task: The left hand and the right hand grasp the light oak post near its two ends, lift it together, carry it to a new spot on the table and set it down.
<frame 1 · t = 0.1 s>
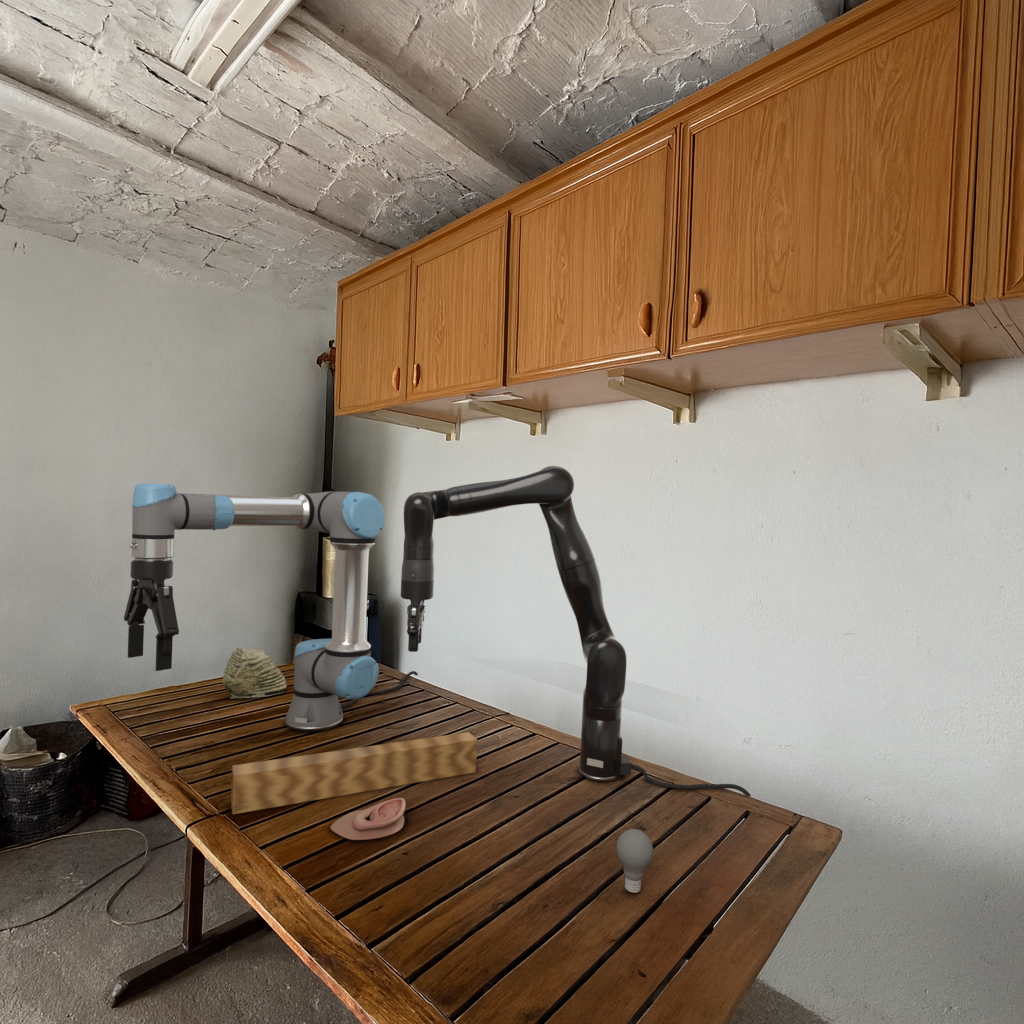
left hand: (148, 663, 129), 28 cm above the table, tool pointing down, fingers open, 13 cm apart
right hand: (414, 647, 148), 29 cm above the table, tool pointing down, fingers open, 8 cm apart
fossil: (254, 694, 198), on the table
light bulb: (632, 891, 106), on the table
anatomical model: (368, 826, 123), on the table
post: (362, 786, 139), on the table
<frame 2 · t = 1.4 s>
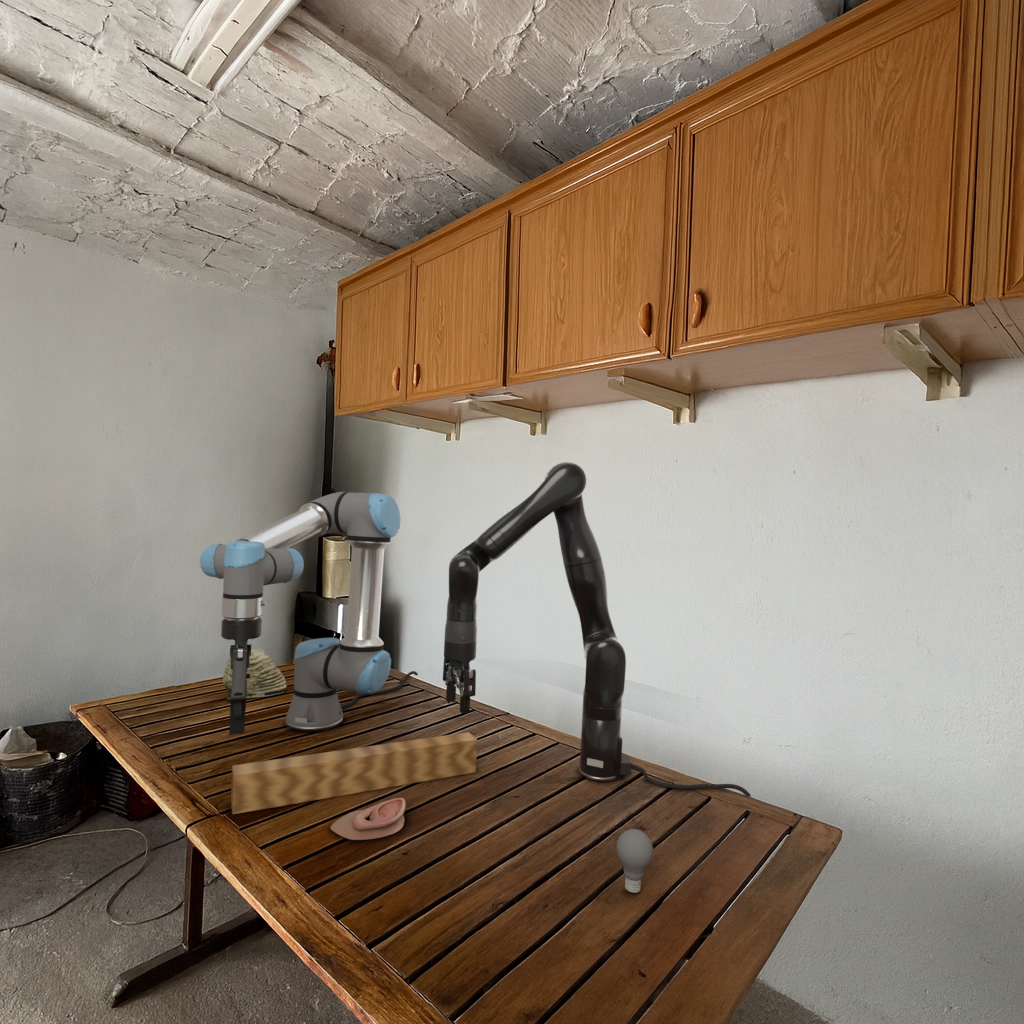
left hand: (237, 721, 129), 17 cm above the table, tool pointing down, fingers open, 13 cm apart
right hand: (457, 706, 149), 15 cm above the table, tool pointing down, fingers open, 8 cm apart
nothing on the table moved.
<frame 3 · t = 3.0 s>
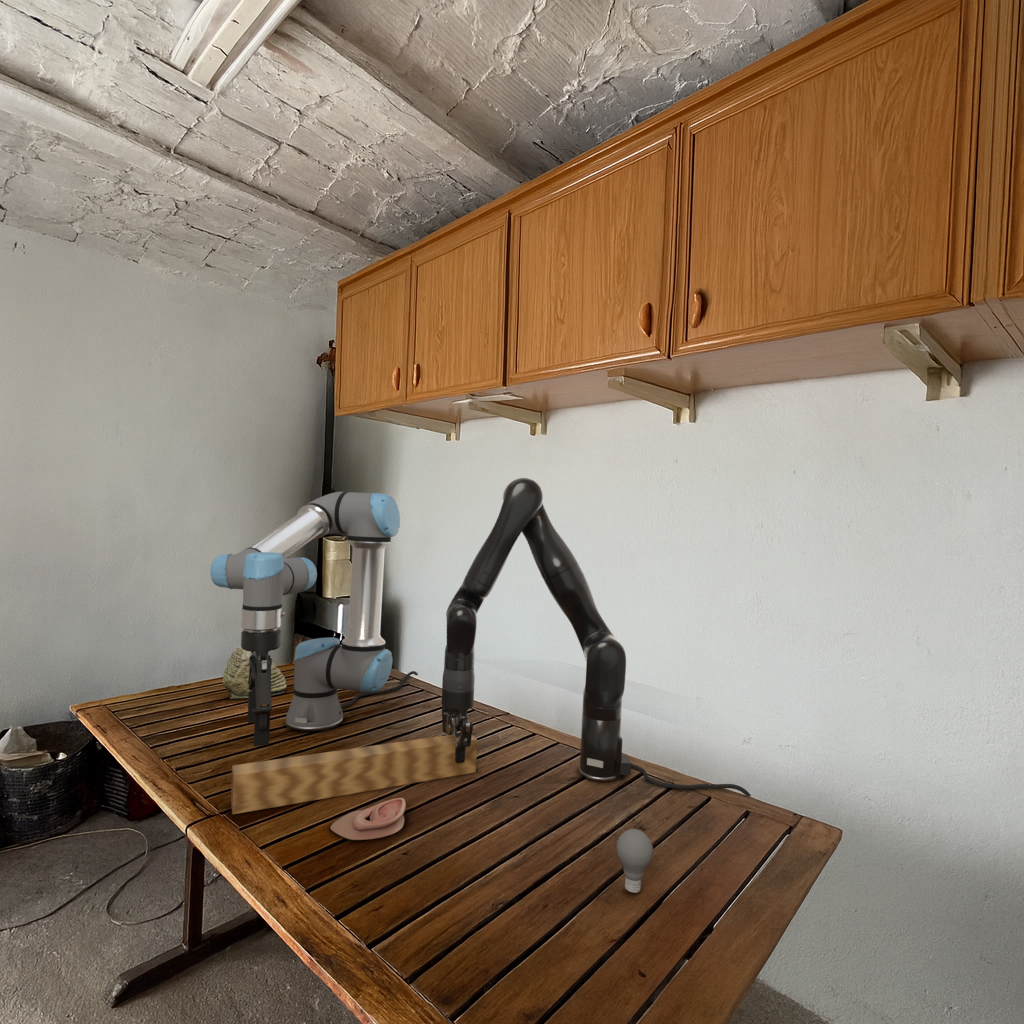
left hand: (257, 732, 129), 15 cm above the table, tool pointing down, fingers open, 13 cm apart
right hand: (455, 757, 149), 3 cm above the table, tool pointing down, fingers closed on post, 5 cm apart
post: (362, 786, 139), on the table, touching right hand
everything else where it was.
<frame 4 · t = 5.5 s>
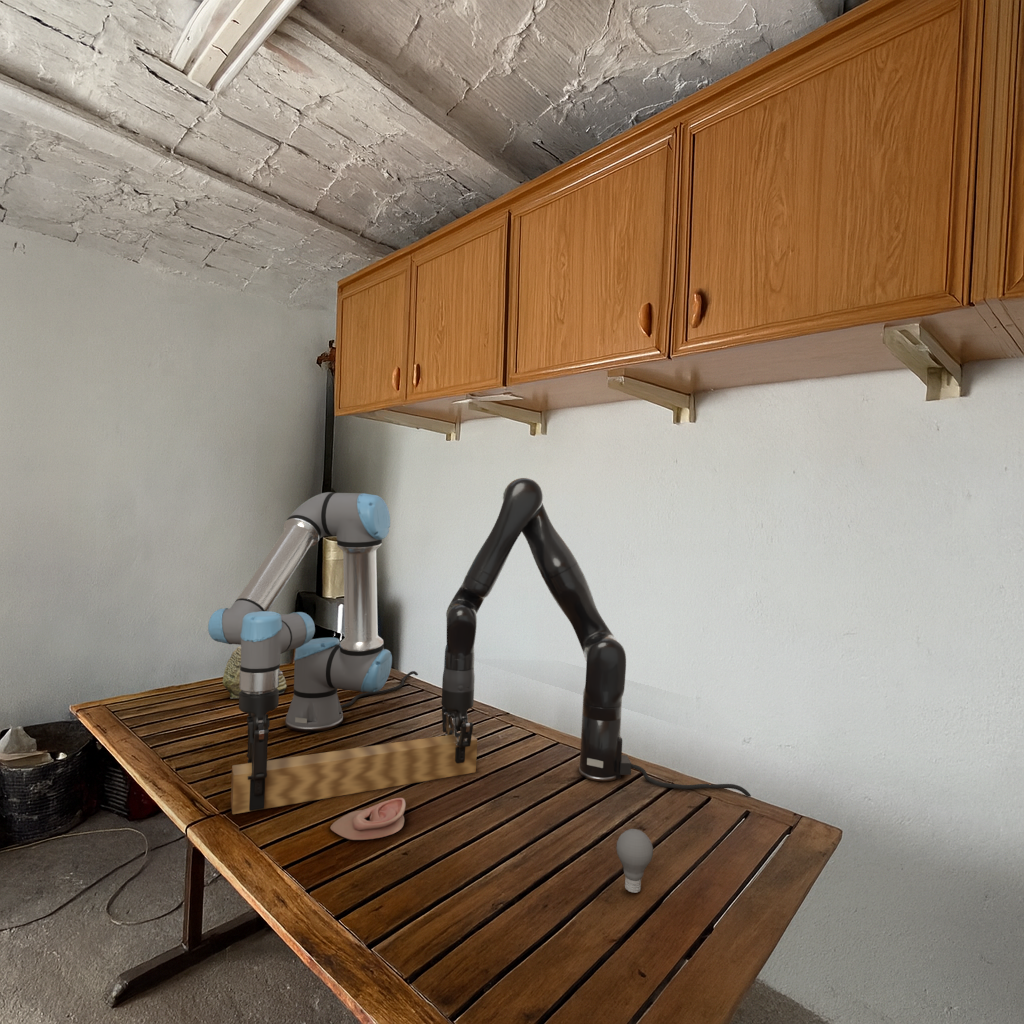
left hand: (255, 802, 129), 1 cm above the table, tool pointing down, fingers closed on post, 5 cm apart
right hand: (455, 757, 149), 3 cm above the table, tool pointing down, fingers closed on post, 5 cm apart
post: (362, 786, 139), on the table, touching left hand, right hand
everything else where it was.
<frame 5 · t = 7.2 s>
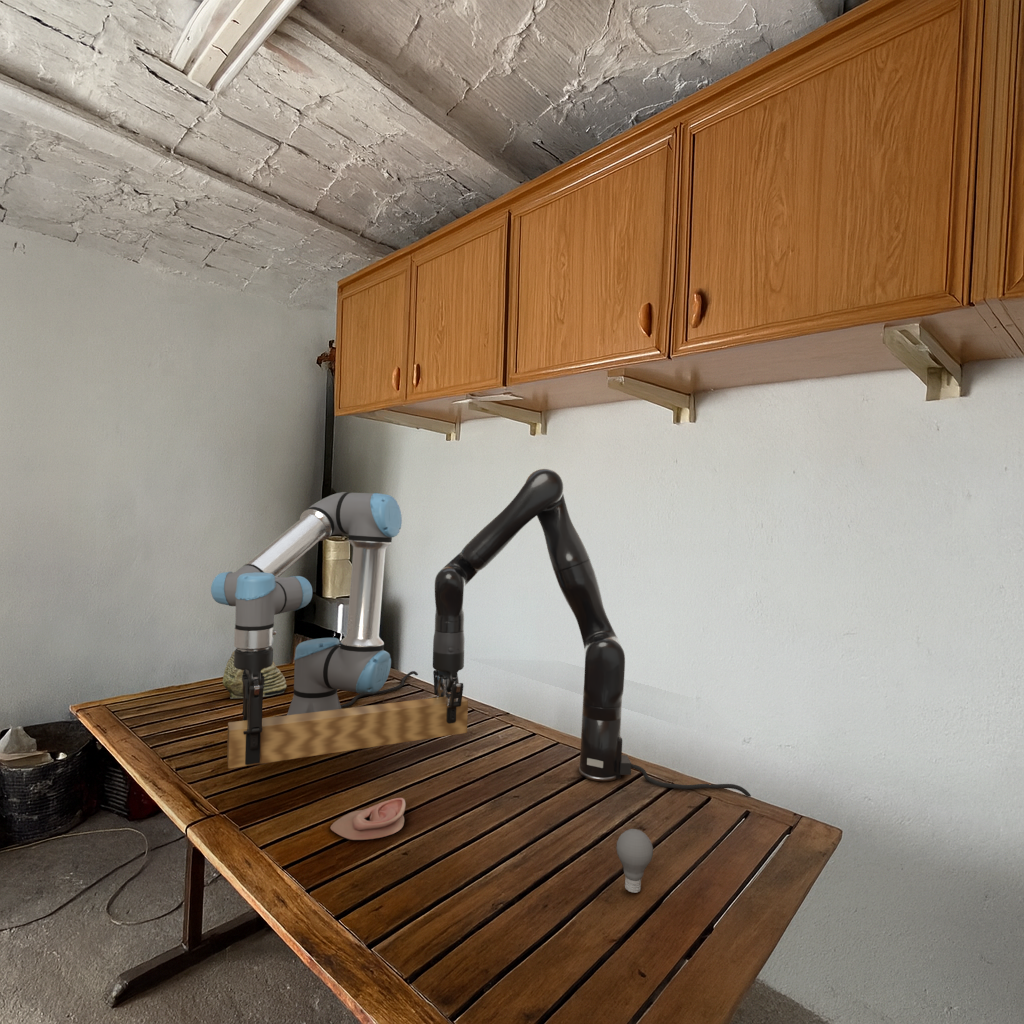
left hand: (250, 757, 133), 8 cm above the table, tool pointing down, fingers closed on post, 5 cm apart
right hand: (446, 718, 153), 11 cm above the table, tool pointing down, fingers closed on post, 5 cm apart
post: (355, 745, 143), point 8 cm above the table, touching left hand, right hand
everything else where it was.
when the left hand's fingers open (2 cm above the table, at t = 9.4 s): post drops 2 cm, on the table.
when the right hand's fingers open (5 cm above the table, at t = 9.6 s): post stays where it is, on the table.
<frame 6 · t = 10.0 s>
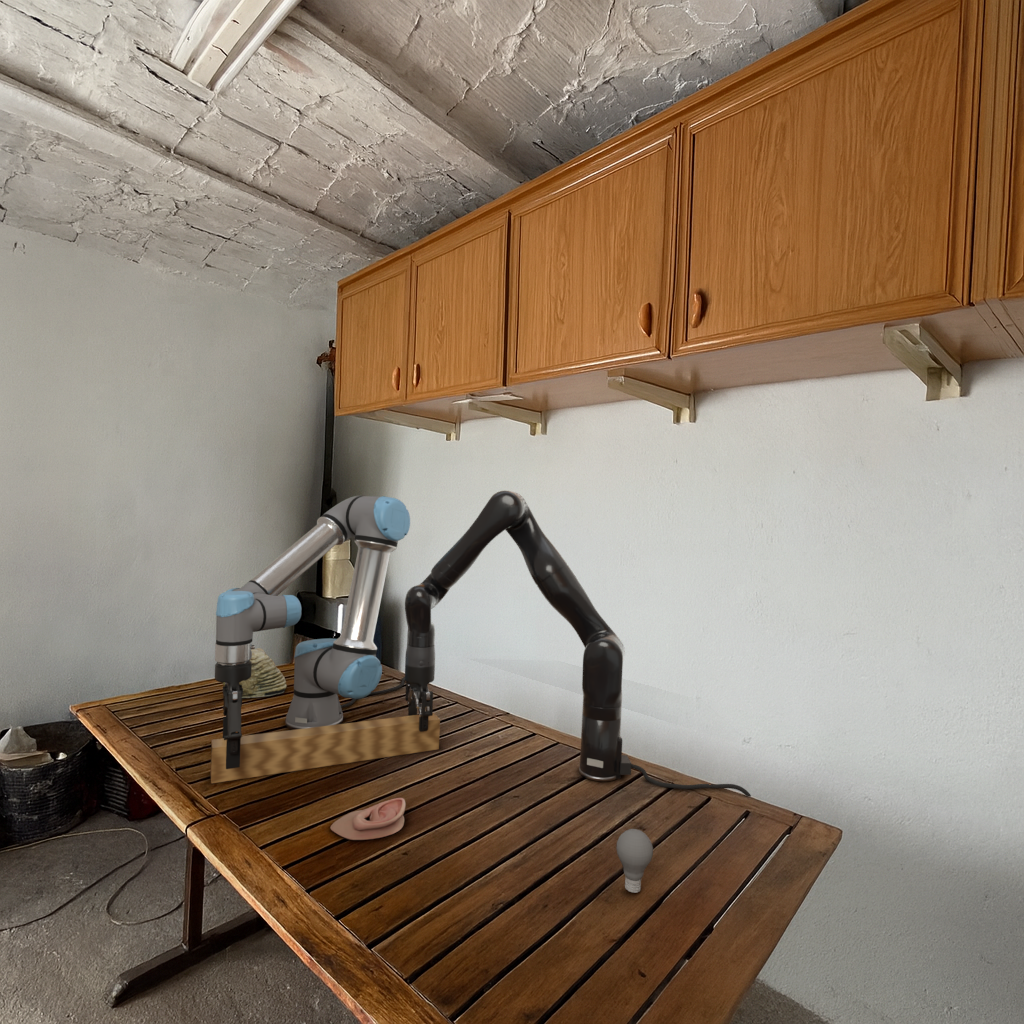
left hand: (230, 755, 142), 4 cm above the table, tool pointing down, fingers open, 13 cm apart
right hand: (417, 725, 162), 6 cm above the table, tool pointing down, fingers open, 8 cm apart
post: (332, 761, 152), on the table
everything else where it was.
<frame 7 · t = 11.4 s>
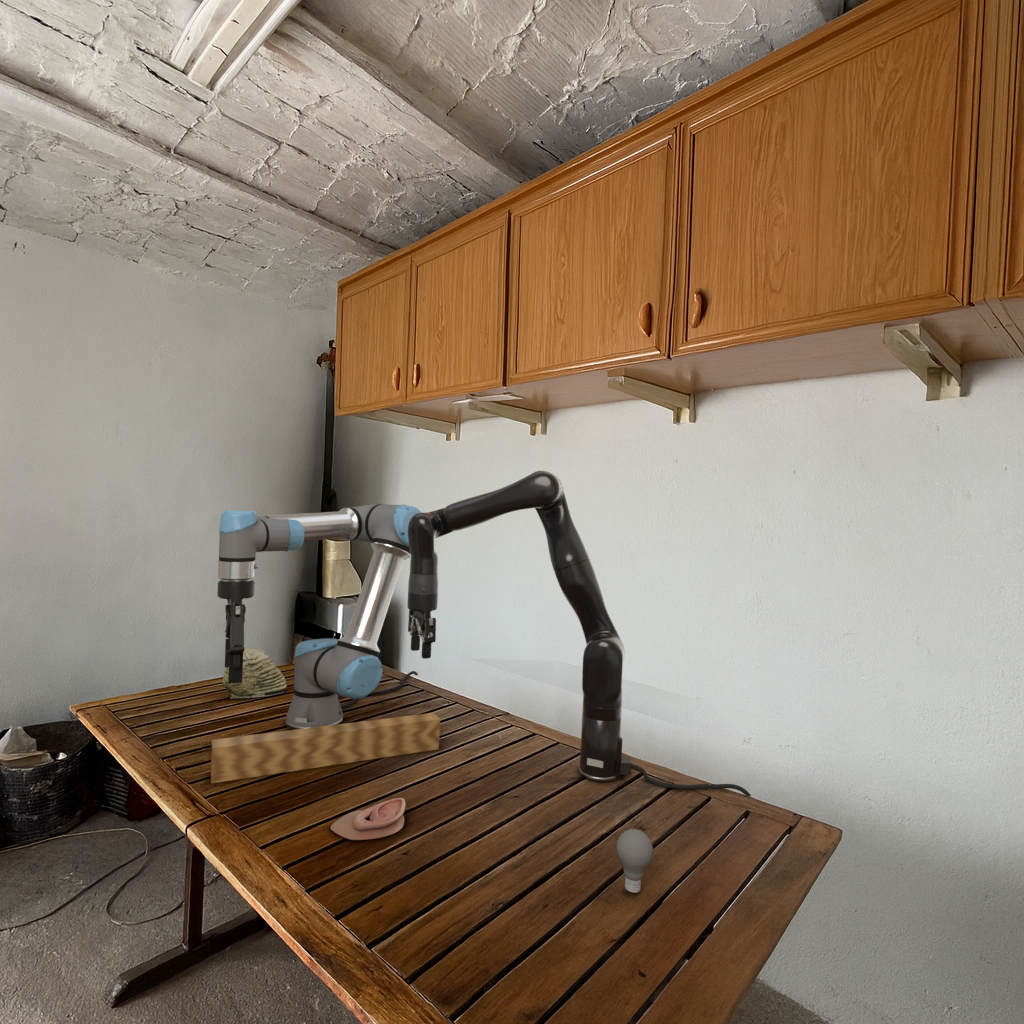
left hand: (233, 674, 141), 23 cm above the table, tool pointing down, fingers open, 13 cm apart
right hand: (420, 654, 161), 24 cm above the table, tool pointing down, fingers open, 8 cm apart
nothing on the table moved.
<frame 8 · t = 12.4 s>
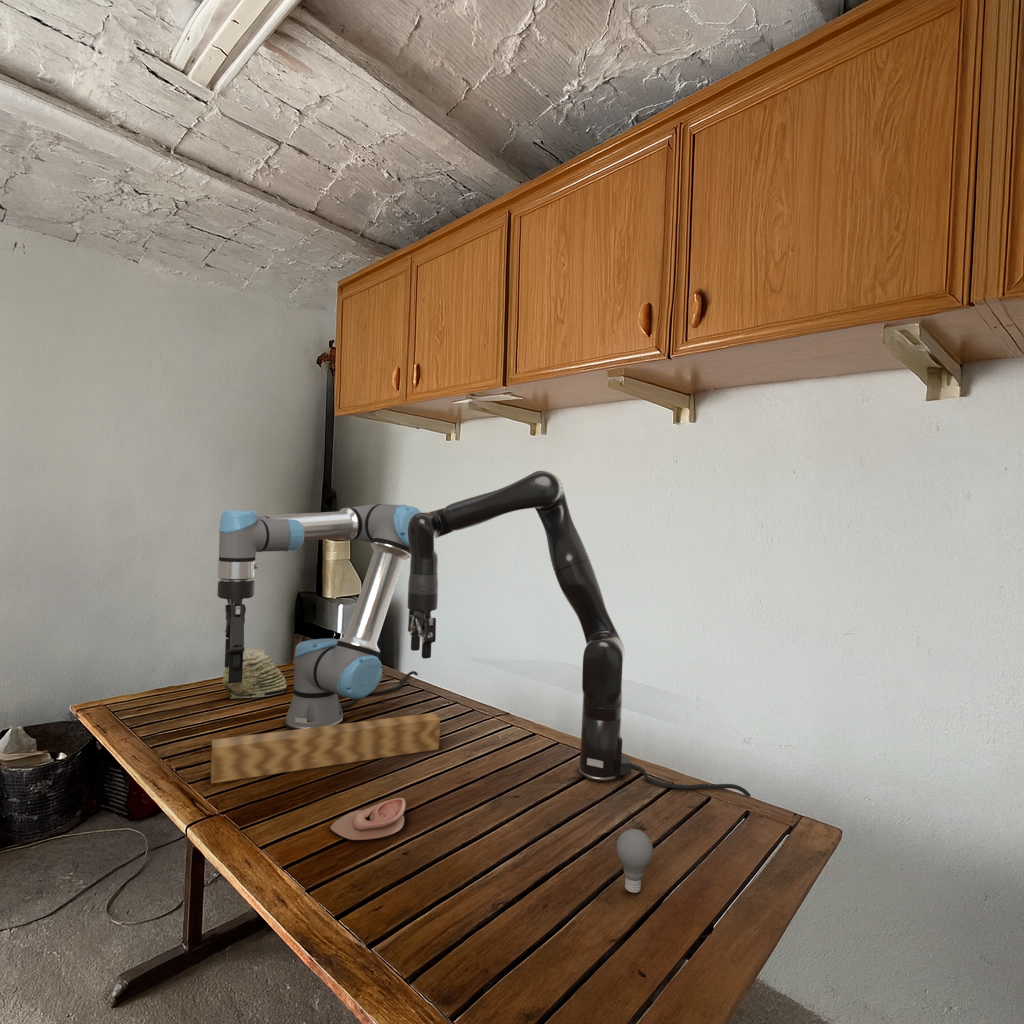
left hand: (233, 674, 141), 23 cm above the table, tool pointing down, fingers open, 13 cm apart
right hand: (420, 654, 161), 24 cm above the table, tool pointing down, fingers open, 8 cm apart
nothing on the table moved.
at the end: post inside the target area (0.6 cm from its centre), on the table; post tilted 0°; post never tilted more than 2° during the clip; both hands held the post at the same time; the left hand is holding nothing; the right hand is holding nothing; post at rest at the end (0.0 cm/s) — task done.
